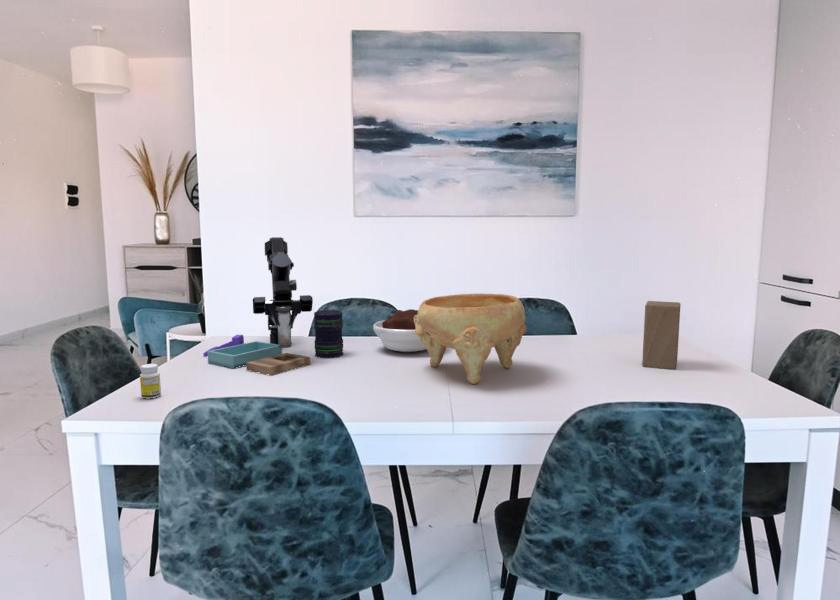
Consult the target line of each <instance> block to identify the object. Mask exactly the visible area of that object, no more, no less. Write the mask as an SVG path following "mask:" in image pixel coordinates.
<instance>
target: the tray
mask: <svg viewBox="0 0 840 600" xmlns="http://www.w3.org/2000/svg"><path fill="white" fill-rule="evenodd" d="M207 351H208V350H207ZM279 354H283V348H279V345H277V344H271V343H270V342H265V341H259V340H255V341H251V342H244V344H240V345H235V346H230V347H226V348H221V349H216V350H211V351H208V357H207V364H211V365H214V364H215V366H218V365H220V366H219V367H223V366H226V367H225V368H228V367H231V368H230V369H232V368H235V369H237V368H236V367H239V366H243V365H246V362H250V361H255V360H259V359H263V358H267V357H271V356H275V355H279ZM243 367H244V366H243ZM239 368H240V367H239Z"/></svg>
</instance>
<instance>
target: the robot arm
mask: <svg viewBox="0 0 840 600" xmlns="http://www.w3.org/2000/svg"><path fill="white" fill-rule="evenodd" d="M288 249H289V248H288V242H287V241H286V240H285V239H284V237H281V236H280V237H270V238H269V240H267V241H265V242H264V256H266V261H267V265H268V266H267V267H268V268H267V269H268V271H269V272H270V274H271V284H272V285H271V287H272V299H271V298H269V299H268V298H267V299H266V296H255V297H253V298H252V313H253V314H255V315H259V314H262V315H263V314H264V315H265V316H267V330H268V331H270V333H269V343H271V344H277V345H279V343H278V315H277V311H275V306H281V305H290V306H292V310H291V312H290V316H291V329H293V328H294V323H295V320H296V319H297V316H298V315H299V314H302V312H304V313H305V312H311V311H312V310H313V302H314V301H313V300H314V299H313V296H311V295H309V294H306V295H299V299H297V300H296V299H295V300H294V299H292V298H293V291H295V292H296V291H297V289H298V288H297V285H298V284H297V280H296V279H290V274H291V271H292V270H293V268H294V267H295V265H294V263H293V261H292V259H291V258H290V257H289V250H288ZM292 344H293V342H291V345H292Z"/></svg>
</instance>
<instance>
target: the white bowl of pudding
mask: <svg viewBox="0 0 840 600" xmlns="http://www.w3.org/2000/svg"><path fill="white" fill-rule="evenodd" d="M415 315H418V309H414V308H413V309H411V308H409V309H406V310H401V309H398V310H397V311H396V312H395V313H394V314H393V315H391V316H388V317H387V319H386V320H385V319H383V320H380V321H376V322H375V323H373V331H374V333H375V335H376V336H377V337H378V338H379V339H380V340H381V344H382V345H383V347H384V348H386V349H388V350H390V351H396V352H401V353H415V352H421V351H425V350H427V349H426V347H425V345H423V344H422V343H421V340H420V338H419V336H418V335H417V334H416V332H415V324H414V316H415Z"/></svg>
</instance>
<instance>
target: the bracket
mask: <svg viewBox="0 0 840 600" xmlns="http://www.w3.org/2000/svg"><path fill="white" fill-rule="evenodd" d="M240 344H245V338H244V334H235V335H234V336H233V337H232V336H231V341H228V342H227V343H223V344H221V345H219V346H214V347H211V348H209V349H208V350H206V351H204V352H203V358H204V357H205V358H208V357H207V356H208V351H211V350H216V349H221V348H226V347H230V346H235V345H240Z"/></svg>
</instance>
